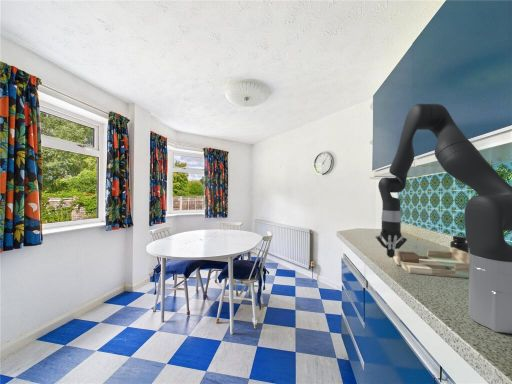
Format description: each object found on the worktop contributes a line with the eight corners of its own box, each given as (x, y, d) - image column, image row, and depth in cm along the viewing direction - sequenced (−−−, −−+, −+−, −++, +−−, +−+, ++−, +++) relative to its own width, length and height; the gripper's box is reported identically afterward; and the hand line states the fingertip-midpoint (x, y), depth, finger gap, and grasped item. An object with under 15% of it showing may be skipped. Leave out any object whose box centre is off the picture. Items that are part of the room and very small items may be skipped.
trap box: (488, 280, 82) (488, 260, 82) (409, 273, 88) (410, 255, 88) (453, 263, 102) (453, 247, 102) (390, 258, 108) (391, 243, 108)
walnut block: (418, 263, 94) (419, 255, 94) (403, 262, 95) (403, 254, 95) (412, 258, 99) (412, 251, 99) (397, 257, 101) (398, 250, 101)
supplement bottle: (473, 262, 103) (473, 238, 103) (458, 262, 103) (459, 237, 103) (459, 258, 110) (460, 235, 110) (446, 258, 110) (446, 234, 110)
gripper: (378, 220, 97) (377, 258, 97) (411, 221, 94) (410, 260, 94) (372, 218, 104) (372, 253, 104) (403, 219, 101) (402, 255, 101)
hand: (390, 257), depth 99 cm, fingers closed
